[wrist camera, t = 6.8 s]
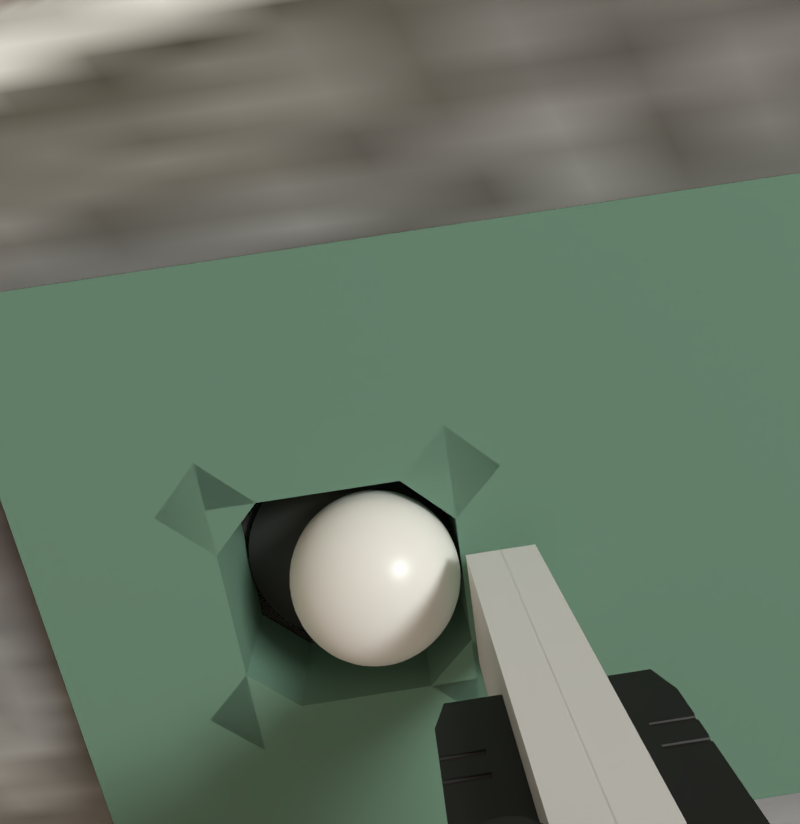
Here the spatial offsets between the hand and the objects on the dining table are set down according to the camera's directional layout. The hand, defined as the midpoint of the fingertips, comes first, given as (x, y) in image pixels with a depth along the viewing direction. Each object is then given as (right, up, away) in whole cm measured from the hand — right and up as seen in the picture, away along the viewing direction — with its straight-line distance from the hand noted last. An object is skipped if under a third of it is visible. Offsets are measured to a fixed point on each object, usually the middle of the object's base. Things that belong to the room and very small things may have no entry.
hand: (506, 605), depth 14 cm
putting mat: (+2, +1, +4) cm, 4 cm away
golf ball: (-3, 0, +1) cm, 3 cm away
